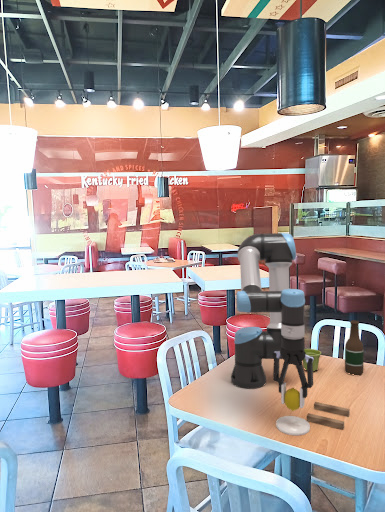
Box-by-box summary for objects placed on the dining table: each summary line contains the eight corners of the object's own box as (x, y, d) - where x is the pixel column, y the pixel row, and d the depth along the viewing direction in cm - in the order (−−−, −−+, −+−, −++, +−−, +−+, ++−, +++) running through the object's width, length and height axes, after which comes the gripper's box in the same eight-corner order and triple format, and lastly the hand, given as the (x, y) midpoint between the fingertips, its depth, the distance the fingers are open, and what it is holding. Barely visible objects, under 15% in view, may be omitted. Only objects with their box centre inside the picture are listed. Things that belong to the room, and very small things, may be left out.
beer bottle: (355, 377, 172) (355, 323, 170) (341, 371, 179) (341, 320, 177) (367, 373, 176) (367, 321, 174) (352, 368, 183) (353, 318, 181)
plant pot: (300, 373, 178) (300, 354, 178) (299, 365, 187) (299, 348, 187) (322, 374, 176) (322, 355, 175) (320, 367, 185) (320, 349, 185)
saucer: (271, 430, 130) (271, 427, 130) (282, 415, 139) (282, 413, 139) (304, 438, 124) (304, 435, 124) (313, 423, 133) (313, 420, 133)
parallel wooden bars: (306, 421, 135) (306, 415, 135) (315, 406, 145) (315, 401, 145) (343, 429, 129) (343, 424, 129) (349, 414, 139) (349, 409, 139)
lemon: (282, 407, 133) (282, 385, 133) (298, 406, 134) (298, 384, 133) (287, 415, 128) (287, 391, 127) (303, 414, 128) (303, 390, 128)
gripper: (262, 335, 131) (262, 402, 132) (318, 343, 121) (318, 415, 123) (269, 330, 137) (270, 394, 139) (324, 337, 128) (323, 406, 129)
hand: (292, 404), depth 131 cm, fingers closed on lemon, 5 cm apart
